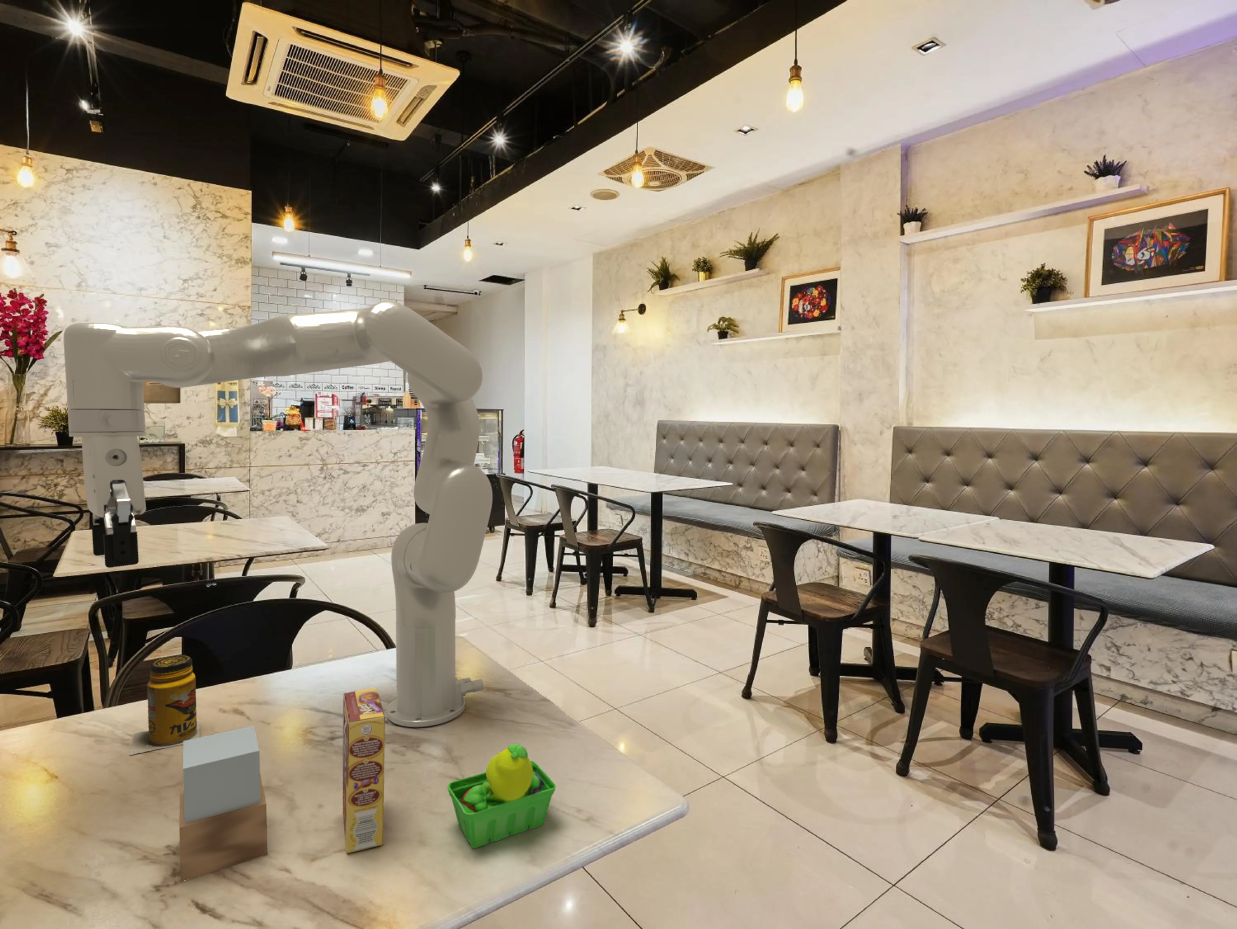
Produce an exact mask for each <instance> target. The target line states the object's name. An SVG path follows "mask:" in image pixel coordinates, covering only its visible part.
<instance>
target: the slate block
mask: <svg viewBox="0 0 1237 929" xmlns="http://www.w3.org/2000/svg"><path fill="white" fill-rule="evenodd" d="M182 745H183V746H182V753H183V754H182V757H183V759H182V772H183V773H182V775H183V776H182V777H183V779H182V781H183V790H184V818H185V824H186V823H190V822H193V821H197V820H201V819H204V818H208V817H211V816H215V815H219V814H222V813H226V812H229V811H233V810H237V809H240V808H244V807H247V806H251V805H255V804H258V803H260V775H261V768H260V767H261V766H260V765H261V763H260V760H261V759H260V757H261V756H260V746H259V743H258V738H257V734H256V729H255V726H254V725H251V726H245V727H241V728H237V729H232V730H227V731H223V732H218V733H215V734H210V735H204V736H200V738H195V739H190V740H186V741H183V744H182Z"/></svg>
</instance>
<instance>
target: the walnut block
mask: <svg viewBox="0 0 1237 929" xmlns="http://www.w3.org/2000/svg"><path fill="white" fill-rule="evenodd" d="M266 800H267V799H266V795H265V790H264V786H263V781H262V775H261V774H260V803H258V804H255V805H251V806H247V807H244V808H240V809H237V810H233V811H229V812H226V813H222V814H219V815H215V816H211V817H208V818H204V819H201V820H197V821H193V822H190V823H186V824H185V818H184V789H183V790H179V818H178V819H179V821H178V822H179V824H178V827H179V831H178V832H179V864H180V866H179V868H180V869H179V870H180V883H182V881H183V882H185V881H184V880H186V881H188V879H189V880H192V879H195V878H198V876H199V877H201V876H205V875H207V874H211V873H215V872H217V871H220V870H223V869H226V868H230V867H232V866H235V865H238V864H242V863H246V862H249V861H251V860H254V859H258V858H260V857H264V856H267V855H268V820H267V819H268V817H267V816H268V814H267V812H268V811H267V801H266ZM191 878H192V879H191Z"/></svg>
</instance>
